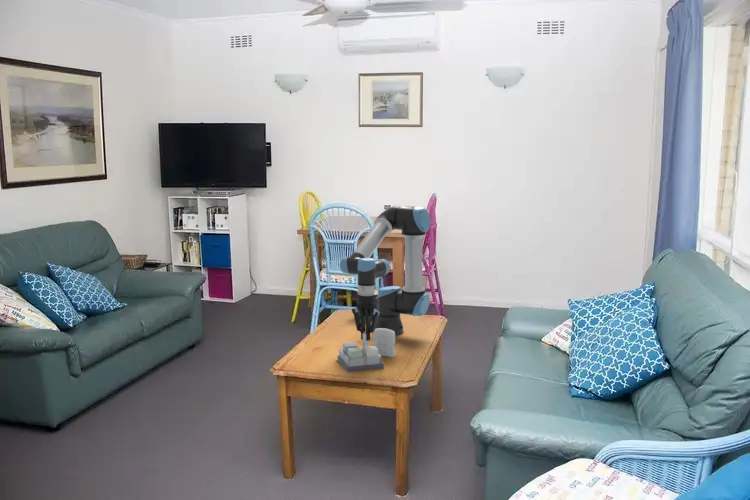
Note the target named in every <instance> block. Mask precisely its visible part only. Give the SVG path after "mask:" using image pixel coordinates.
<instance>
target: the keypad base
mask: <svg viewBox="0 0 750 500" xmlns="http://www.w3.org/2000/svg"><path fill="white" fill-rule="evenodd" d="M338 350H339V351H338V355H337V356H336V357H337V358H336V359H337V362H338V363H339V364H340V365H341V366H342V368H343V369H344V370H345V371H346V372H347V373H354V372H361V371H363V372H364V371H373V370H380V369H381V370H383V369H385V363H384V362H383V356H381V355H380V354H379V353H378V356H376V357H366V356H365V355H363V352H362V358H355V359H350V358H349V357H348V354H345V353H344V351H343V348H342V349H341V348H340V349H338Z"/></svg>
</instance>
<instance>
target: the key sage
mask: <svg viewBox="0 0 750 500" xmlns="http://www.w3.org/2000/svg"><path fill="white" fill-rule="evenodd" d="M348 357H349V358H350V359H355V358H362V350H361V349H360V348H359V346H357V347H355V348H348Z"/></svg>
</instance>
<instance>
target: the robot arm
mask: <svg viewBox="0 0 750 500" xmlns="http://www.w3.org/2000/svg"><path fill="white" fill-rule="evenodd" d="M430 216H431V215H430V214H429V211H428V209H426V208H425V207H422V206H421V207H420V206H413V205H411V206H410V205H407V206H406V205H394V206H391V207H389V208H387V209H386V210H384V211H383V212H381V213H380V214H379V215H378V216H377V217H376V218H375V219H374V223H373V226H371V228H370V229H369V231H368V232H367V234H366V235H365V236H364V238H363V239H362V240H361V241H360V243H359V244H358V245H357V247H356V248H355V250H354V251H353V252H352V254H351V255H350V256H349V255H348V256H344V257H342V258H341V259H340V261H339V262H340V263H339V269H340V271H341V272H342V273H344V274H348V275H357V296H356V297H357V300H356V302H358V304H356V307H354V308H352V309H351V312H352V314H353V317H354V322H355V328H356V331H357V332H360V339H361V340H362V346H363V347H366V346H369V341H371V334H373V333H374V331H375V329H377V328H387V329H390V330H393V331H394V332H395V336H397V335H401V334H403V333H404V325H403V322H402V319H401V315H409V316H412V317H422V316H424V315H425V314H427V311H428V309H429V306H430V302H431V299H430V298H431V297H430V295H429V293H427V292H426V287H425V286H423V238H424V237H425V236H426V235H427V233H426V232H428V231H429V230H430V226H431V217H430ZM395 230H398V231H400V230H401V235H402V236H403V237H404V285H403V287H401V286H398V285H390V286H383V287H381V288H379V289H378V290H377V291H378V297H377V298H378V303H377V310H376V309H375V305H374V304H375V295H374V294H375V290H376V279H378V278H381V277H382V278H383V277H384V276H386V275H388V274H389V272H390V270H391V267H390V263H389V262H388V261H387V260H386V259H384V258H381V259H380V258H378V259H375V258H372V255H373V254H374V252H375V251H376V250H377V248H378V247H379V246H380V244H381V243H382V241H383V240H384V239H385V237H387V235H389V234H391V233H392V231H395ZM358 311H359V312H360V317H361V319H360V317H359V312H358ZM373 312H374V316H373V319H372V320H371V316H372V313H373Z"/></svg>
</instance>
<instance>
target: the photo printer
mask: <svg viewBox="0 0 750 500" xmlns="http://www.w3.org/2000/svg"><path fill="white" fill-rule="evenodd" d="M372 334H373V335H372V346H375V347H376V348H377V349H378V353H379V354H380V355H381V356H382V357H389V358H393V357H395V356H396V355H395V352H396V335H395V332H394V331H393V330H390V329H387V328H377V329H375V331H374V332H372Z"/></svg>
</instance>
